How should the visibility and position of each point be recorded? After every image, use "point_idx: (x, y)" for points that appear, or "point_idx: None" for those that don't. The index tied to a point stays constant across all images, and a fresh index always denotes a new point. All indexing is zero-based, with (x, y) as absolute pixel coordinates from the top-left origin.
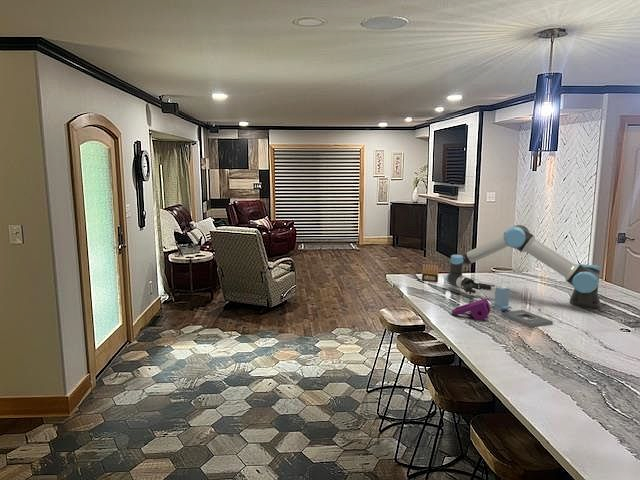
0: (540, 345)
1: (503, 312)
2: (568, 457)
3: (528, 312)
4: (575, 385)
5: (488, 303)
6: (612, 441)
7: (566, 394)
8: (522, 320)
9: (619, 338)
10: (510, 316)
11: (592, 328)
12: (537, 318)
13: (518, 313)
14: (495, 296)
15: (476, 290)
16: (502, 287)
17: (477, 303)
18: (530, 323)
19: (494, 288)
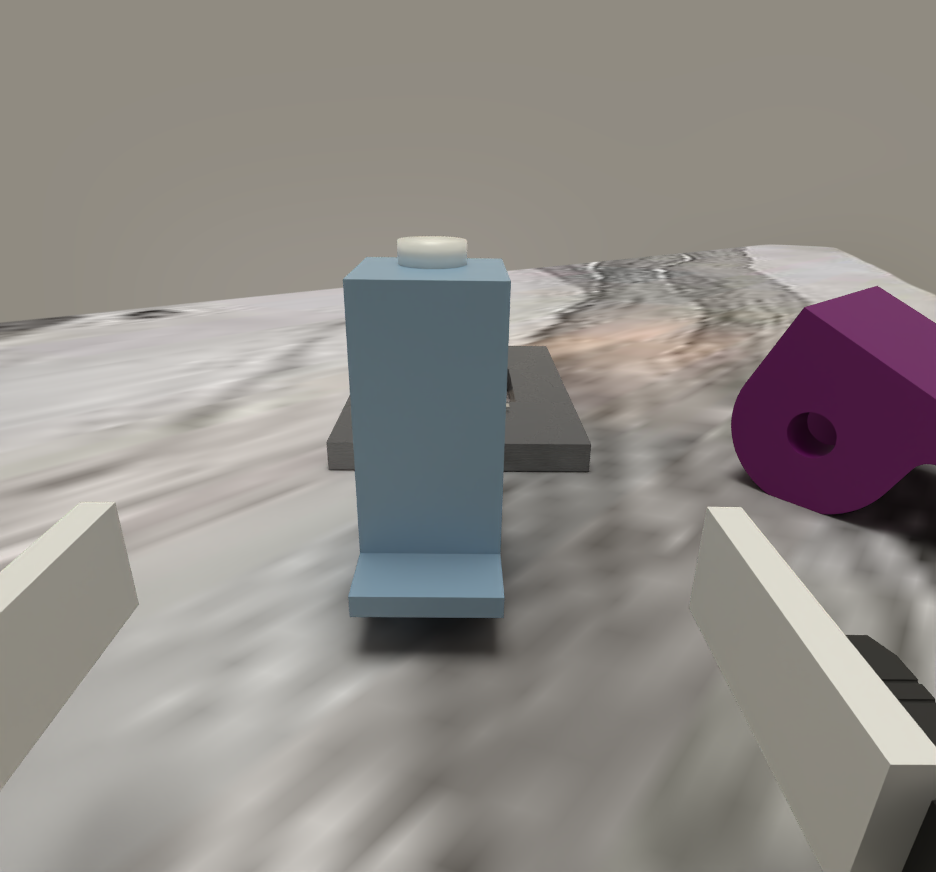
0: (650, 315)
1: (572, 441)
2: (839, 250)
3: (350, 410)
4: (708, 271)
5: (767, 356)
6: (755, 250)
7: (752, 268)
8: (549, 366)
9: (291, 302)
10: (572, 405)
11: (251, 330)
12: None
13: None
14: (503, 437)
15: (792, 591)
16: (466, 246)
17: (921, 332)
18: (538, 349)
19: (9, 638)
